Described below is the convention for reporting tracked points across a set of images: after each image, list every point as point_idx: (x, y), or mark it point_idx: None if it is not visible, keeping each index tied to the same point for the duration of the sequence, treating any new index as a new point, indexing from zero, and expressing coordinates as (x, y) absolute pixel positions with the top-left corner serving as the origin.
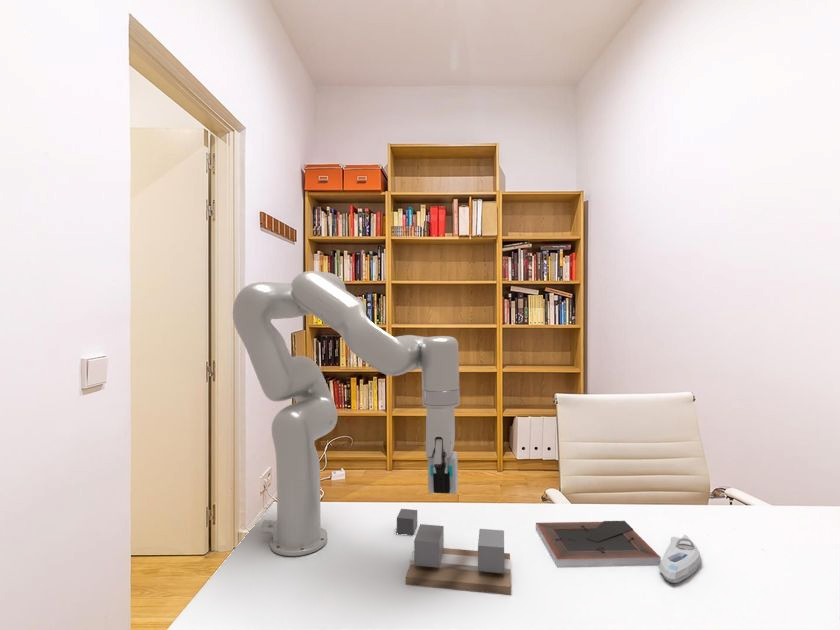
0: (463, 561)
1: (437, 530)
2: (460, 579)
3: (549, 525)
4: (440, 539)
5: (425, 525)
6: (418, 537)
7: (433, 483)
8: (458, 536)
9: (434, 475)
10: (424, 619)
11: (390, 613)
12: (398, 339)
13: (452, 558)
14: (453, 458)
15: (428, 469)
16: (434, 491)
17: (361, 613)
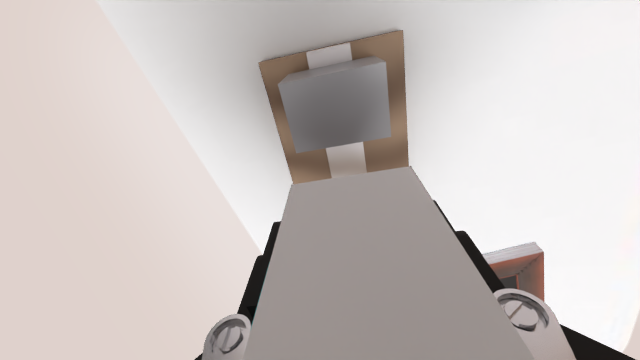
0: (342, 169)
1: (358, 128)
2: (297, 170)
3: (530, 270)
4: (319, 148)
5: (380, 83)
6: (299, 90)
7: (266, 250)
8: (497, 109)
9: (255, 295)
10: (191, 134)
11: (168, 70)
12: None
13: (346, 146)
14: None
15: (265, 285)
16: (276, 225)
17: (131, 9)
